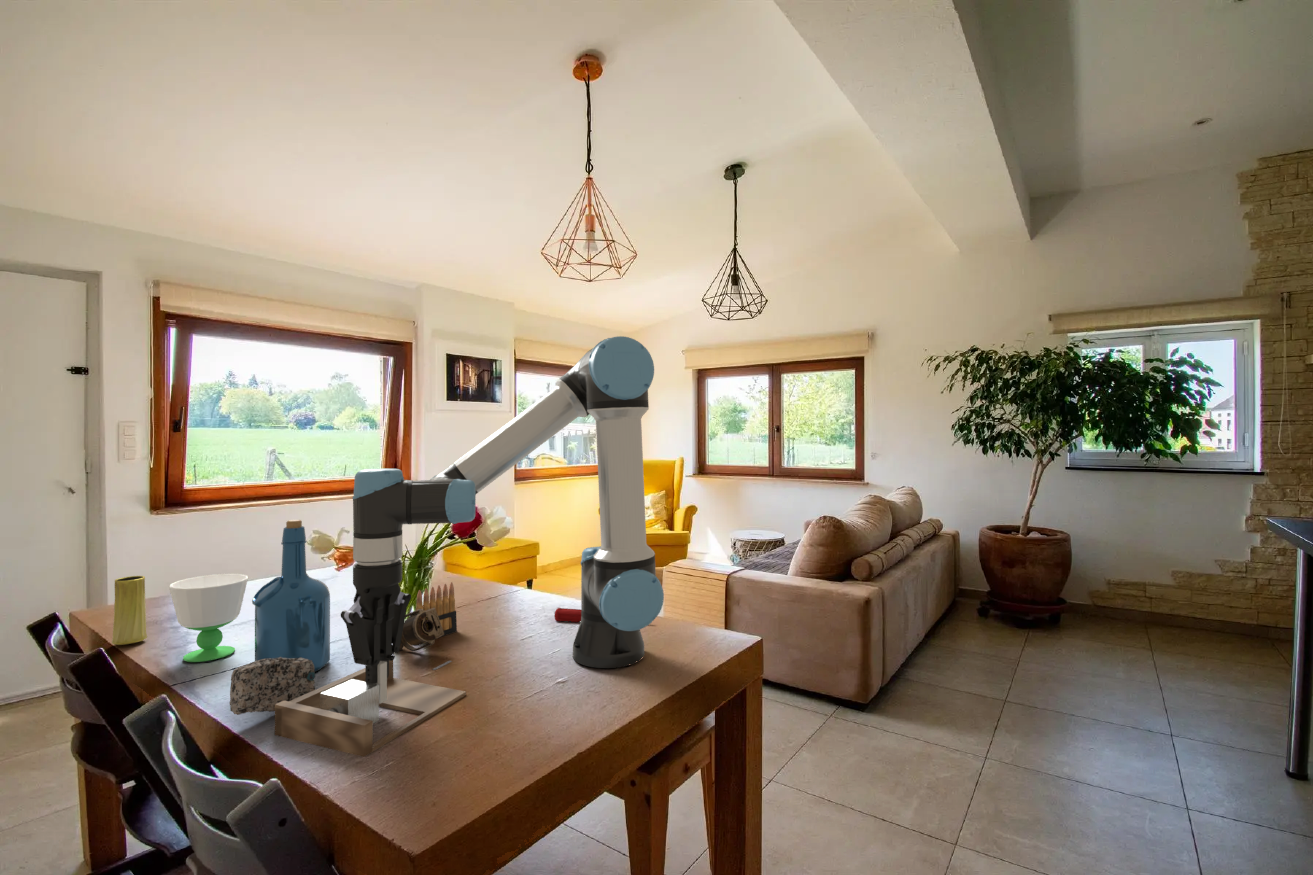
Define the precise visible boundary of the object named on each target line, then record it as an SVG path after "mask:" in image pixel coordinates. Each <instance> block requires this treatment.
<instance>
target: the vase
mask: <svg viewBox="0 0 1313 875" xmlns="http://www.w3.org/2000/svg"><path fill="white" fill-rule="evenodd" d="M145 580H146V577H145V576H144V575H131V576H124V577H120V578H119V577H118V578H116V579H114V602H113V603H114V606H113V623H112V626H113V627H112V637H111V638H112V640H111V644H112V645H116V646H117V645H118V646H122V645H123V646H124V645H129V644H135V643H139V642H143V641H144V639H145V640H146V639H147V638H148V635H147V606H146V586H145V585H146V581H145Z"/></svg>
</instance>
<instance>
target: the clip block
mask: <svg viewBox="0 0 1313 875" xmlns="http://www.w3.org/2000/svg"><path fill="white" fill-rule="evenodd" d="M320 709H323V710H327V711H332V712H336V713H340V714H345V715H349V716H354V717H358V718H362V719H367V720H371V721H373V724H375V723H377V722H379V720H380V706H379V685H378V684H374V683H368V682H364V681H359V680H354V679H351V680H349V681H347V682H344V683H342V684H340V685H338V686H335V687H333V688H331V689H329V690H326V691H324V692H322V693H320Z"/></svg>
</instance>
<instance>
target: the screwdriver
mask: <svg viewBox="0 0 1313 875" xmlns="http://www.w3.org/2000/svg"><path fill="white" fill-rule="evenodd" d="M553 618H554V620H555V621H556V622H561V621H568V622H567V623H580V622H579V621H581V609H578V608H561V607H557V608H556V609H555V612H554V617H553ZM569 621H571V622H569Z"/></svg>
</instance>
